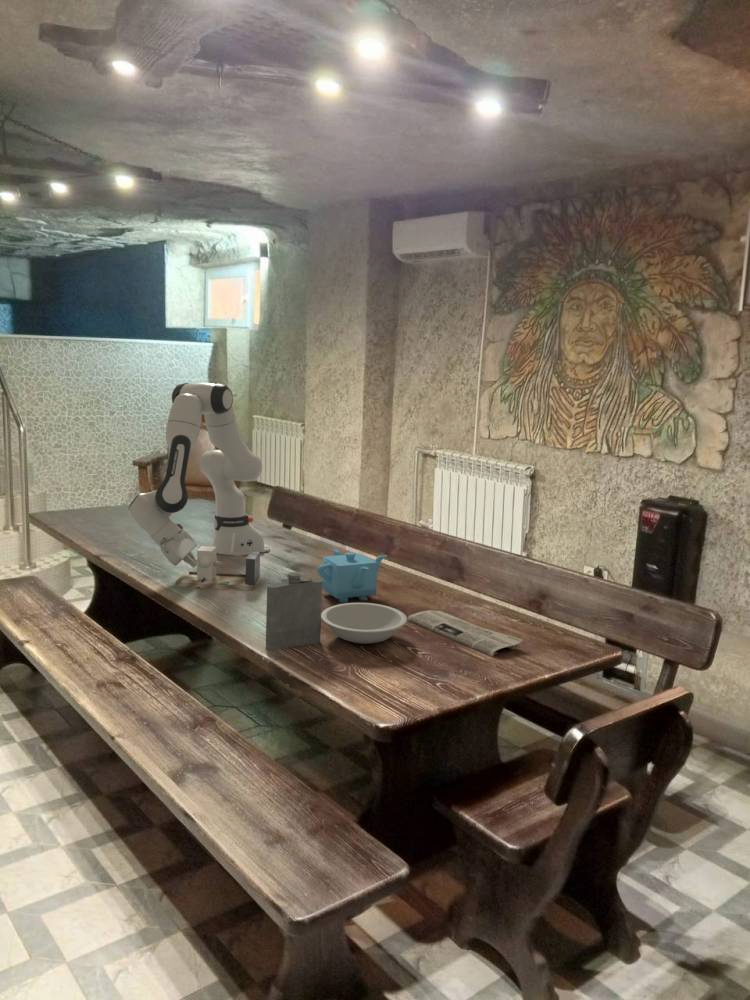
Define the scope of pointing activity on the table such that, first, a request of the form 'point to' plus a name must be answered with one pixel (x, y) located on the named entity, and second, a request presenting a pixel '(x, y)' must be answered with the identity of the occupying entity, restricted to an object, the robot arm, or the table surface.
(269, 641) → the hip flask
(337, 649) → the table surface
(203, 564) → the block
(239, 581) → the board
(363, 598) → the teakettle
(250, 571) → the dark grey slab
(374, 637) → the soup bowl
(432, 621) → the newspaper
